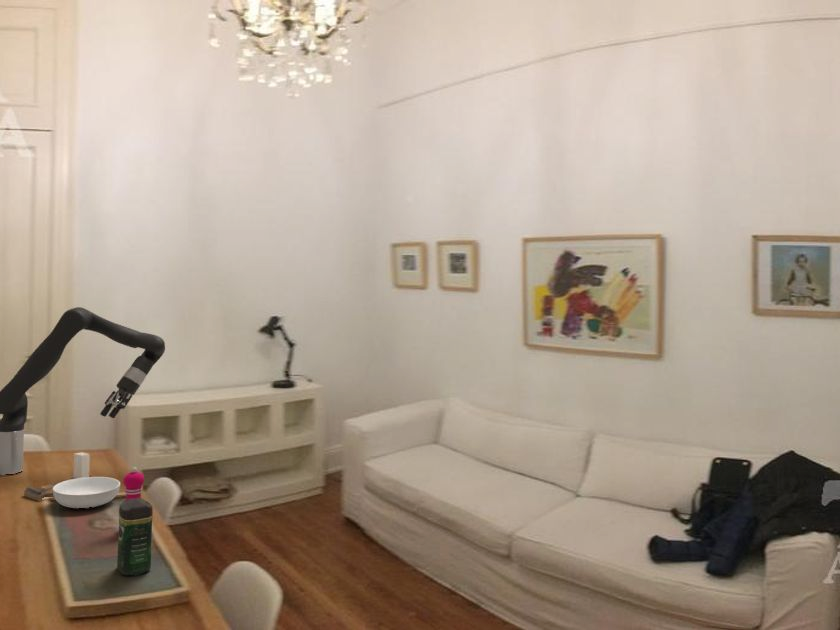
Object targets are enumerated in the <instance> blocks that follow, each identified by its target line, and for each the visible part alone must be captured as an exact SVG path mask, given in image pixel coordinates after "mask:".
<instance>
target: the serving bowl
mask: <svg viewBox="0 0 840 630" xmlns="http://www.w3.org/2000/svg"><path fill="white" fill-rule="evenodd" d="M60 482H61V483H59V482H57V483H58V484H56V485H55V486H54V487H53V495H54V498H53V499H54V500H55V501H56V502H57V503H58V504H59V505H62V507H63V506H64V507H67V508H72V509H79V508H85V509H90V508H89V507H92V508H96V507H100V506H102V505H106V504H107V503H110V502H111V501H112V500H113V499H115V498H116V497H117V495H118V493H119V491H120V488H121V482H120V480H118V479H116V478H113V477H106V476H92V477H84V478H77V479H71V478H70V479H67V480H64V481H60Z"/></svg>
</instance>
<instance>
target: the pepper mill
mask: <svg viewBox="0 0 840 630" xmlns="http://www.w3.org/2000/svg"><path fill="white" fill-rule="evenodd" d="M122 483H123V486H124V487H125V488H124V494H125V496H126V498H125V500H127V499H134V498H141V495H142V492H143V485H144V483H145V476H144V474H143V473H141V472H139V471H138V468H137V467H136V466H133V467H132V468H131V471H130V472H128V473H127V474H125V476H124V478H123V482H122ZM141 499H142V498H141Z"/></svg>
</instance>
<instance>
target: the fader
mask: <svg viewBox="0 0 840 630" xmlns="http://www.w3.org/2000/svg"><path fill="white" fill-rule="evenodd" d="M90 457H91V455H90V453H87V452H83V451H81V452H76V453H73V476H72V477H70V480H71V479H77V478H84V477H89V476H90V463H91V462H90V461H91V460H90V459H91V458H90Z"/></svg>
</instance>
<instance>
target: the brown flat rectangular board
mask: <svg viewBox="0 0 840 630" xmlns="http://www.w3.org/2000/svg"><path fill="white" fill-rule="evenodd" d="M89 477H93V476H92V475H89ZM61 482H62V481H60V482H56V483H51V484H47V485H42V486H38V487H30V486H26V488H25V490H24V493H23V496H24V497H25V498H29V499H30V500H35V501H37V502H43V501H42V498H44V497H54V495H53V487H54V486H55V485H56V484H58V483H61Z"/></svg>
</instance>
